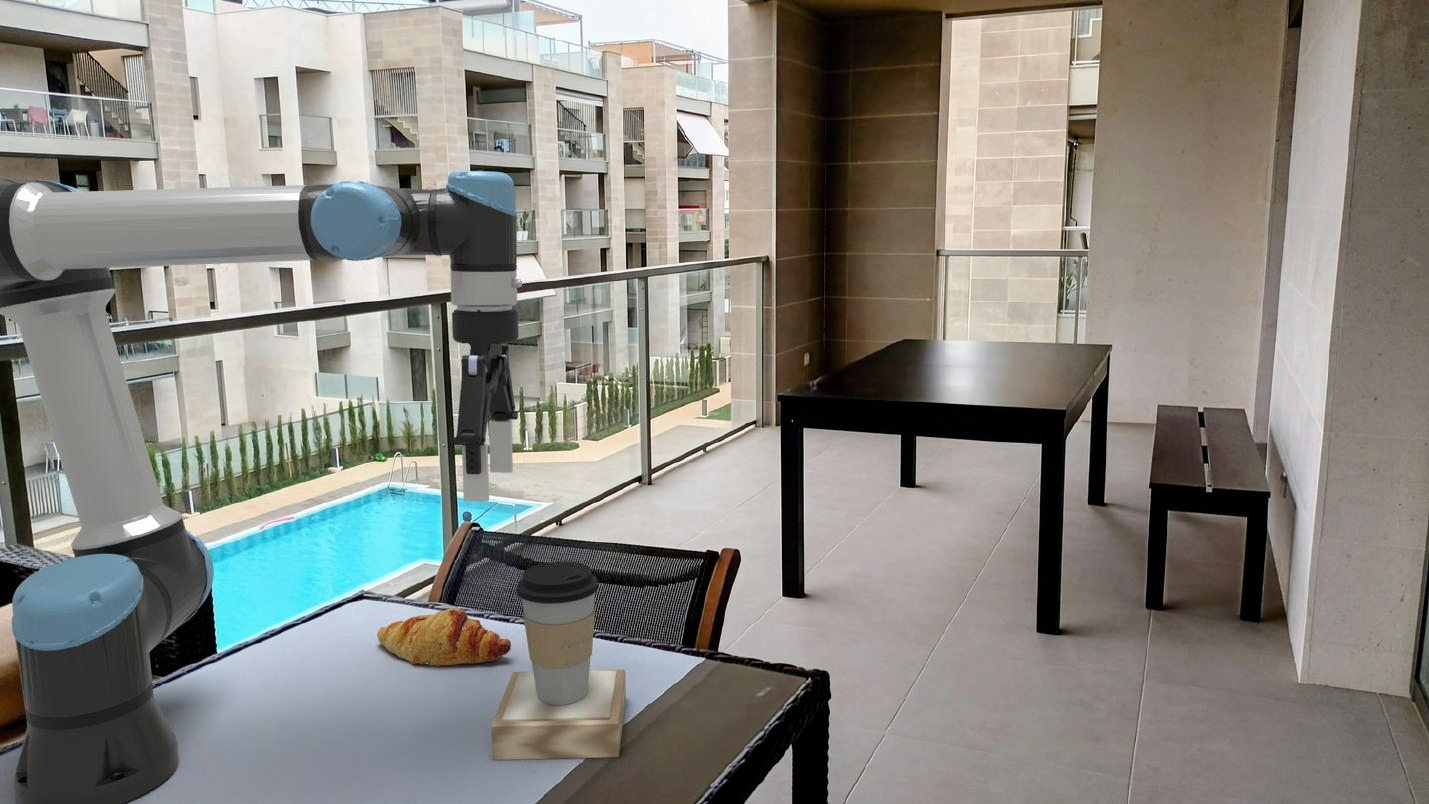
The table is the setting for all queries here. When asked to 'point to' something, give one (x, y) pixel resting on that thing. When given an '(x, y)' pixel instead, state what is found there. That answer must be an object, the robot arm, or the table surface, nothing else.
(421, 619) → the croissant
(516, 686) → the plinth
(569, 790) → the table surface
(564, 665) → the coffee cup
